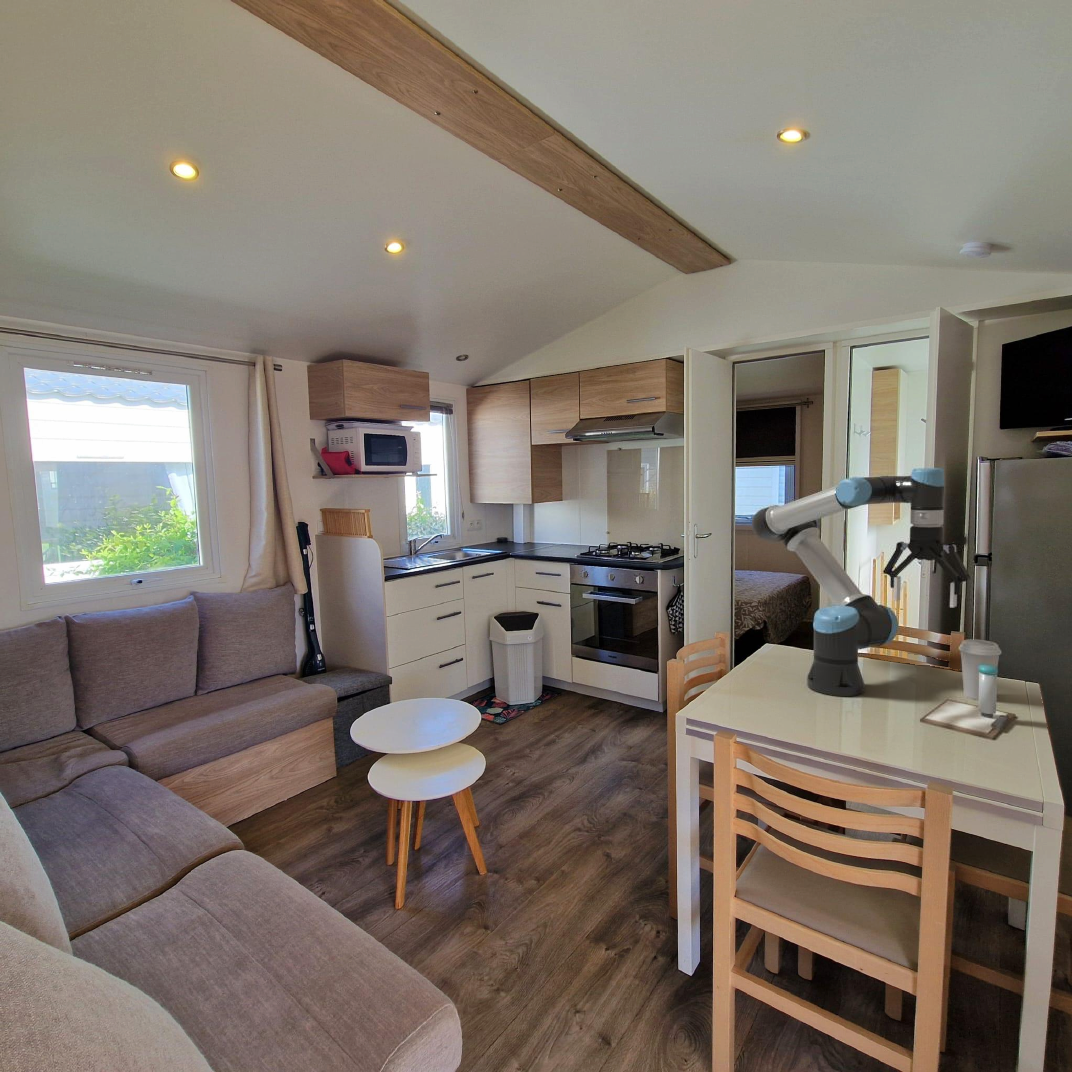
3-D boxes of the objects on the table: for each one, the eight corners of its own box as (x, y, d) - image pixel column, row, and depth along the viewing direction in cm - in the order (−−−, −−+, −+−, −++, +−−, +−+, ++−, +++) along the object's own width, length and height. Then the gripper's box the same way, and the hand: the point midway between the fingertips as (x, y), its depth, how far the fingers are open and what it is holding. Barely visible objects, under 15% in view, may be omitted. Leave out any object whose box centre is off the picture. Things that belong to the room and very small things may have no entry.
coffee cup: (1007, 703, 164) (1009, 648, 162) (967, 701, 165) (968, 647, 164) (988, 690, 173) (990, 638, 171) (950, 689, 175) (952, 638, 173)
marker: (975, 715, 154) (976, 666, 153) (981, 711, 156) (982, 663, 155) (992, 720, 151) (994, 670, 150) (999, 715, 153) (1000, 666, 152)
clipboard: (919, 721, 154) (920, 715, 153) (947, 701, 166) (947, 695, 166) (992, 739, 142) (992, 733, 142) (1015, 716, 155) (1015, 710, 155)
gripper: (871, 524, 172) (869, 599, 174) (977, 528, 153) (974, 612, 155) (882, 522, 177) (880, 595, 179) (986, 526, 158) (983, 607, 160)
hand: (924, 603), depth 167 cm, fingers open, 13 cm apart
